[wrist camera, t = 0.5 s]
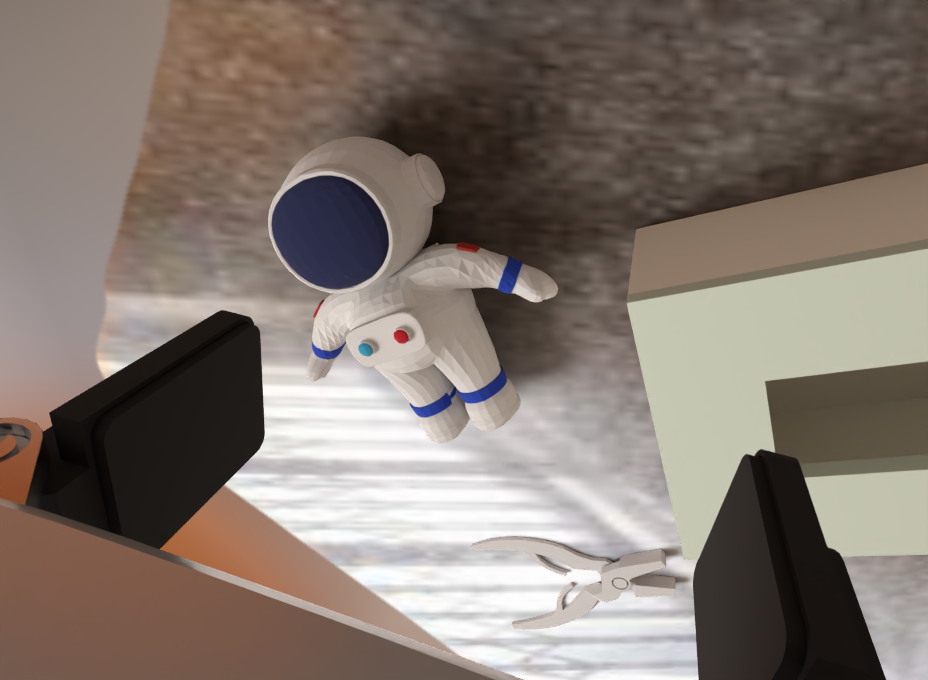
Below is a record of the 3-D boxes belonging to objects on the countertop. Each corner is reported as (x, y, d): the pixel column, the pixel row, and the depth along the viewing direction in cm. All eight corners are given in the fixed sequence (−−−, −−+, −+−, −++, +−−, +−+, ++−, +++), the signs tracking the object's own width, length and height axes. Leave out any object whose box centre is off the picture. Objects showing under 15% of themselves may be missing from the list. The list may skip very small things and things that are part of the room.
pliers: (466, 551, 49) (649, 526, 43) (472, 538, 50) (649, 511, 44) (513, 639, 52) (690, 627, 46) (516, 623, 53) (689, 610, 47)
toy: (341, 497, 40) (155, 234, 33) (389, 415, 48) (246, 189, 41) (600, 435, 33) (428, 78, 26) (607, 350, 41) (477, 59, 34)
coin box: (1019, 142, 29) (1222, 195, 18) (1014, 394, 33) (1174, 549, 23) (636, 229, 35) (626, 303, 25) (677, 428, 40) (684, 559, 30)
